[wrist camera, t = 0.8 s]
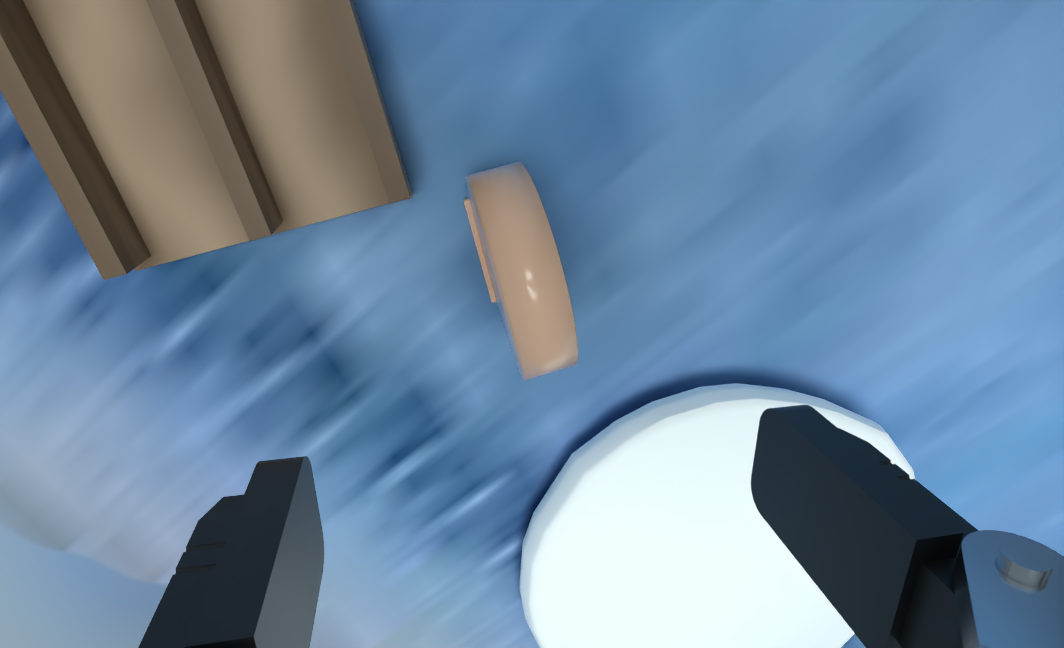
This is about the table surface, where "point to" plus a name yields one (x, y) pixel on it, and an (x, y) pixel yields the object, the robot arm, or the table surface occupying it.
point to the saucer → (522, 268)
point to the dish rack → (198, 119)
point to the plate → (676, 534)
